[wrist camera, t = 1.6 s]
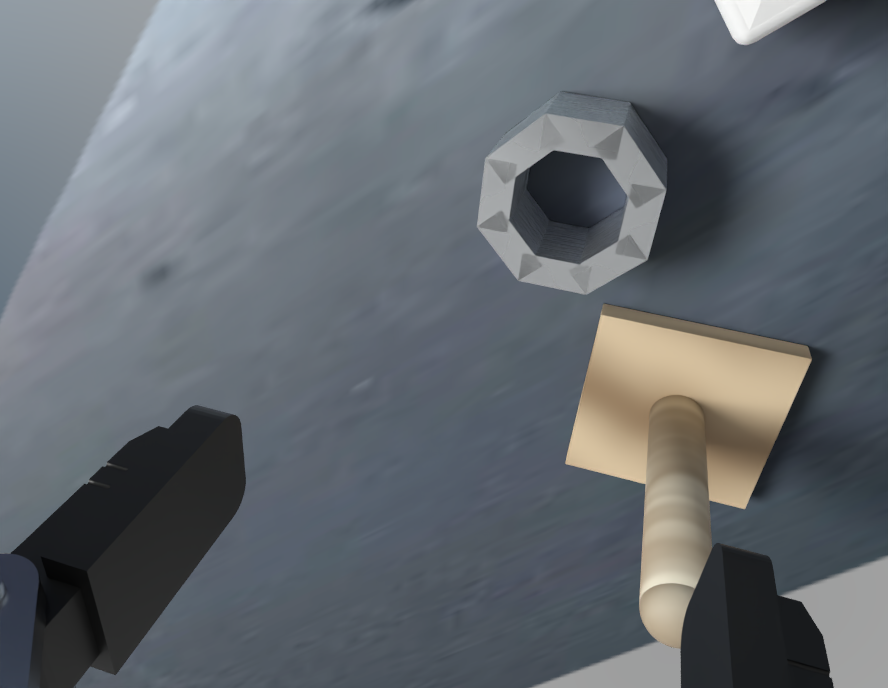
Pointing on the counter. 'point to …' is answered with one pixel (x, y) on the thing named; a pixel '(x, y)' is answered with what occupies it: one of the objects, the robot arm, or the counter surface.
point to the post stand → (681, 435)
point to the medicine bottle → (760, 16)
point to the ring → (562, 245)
